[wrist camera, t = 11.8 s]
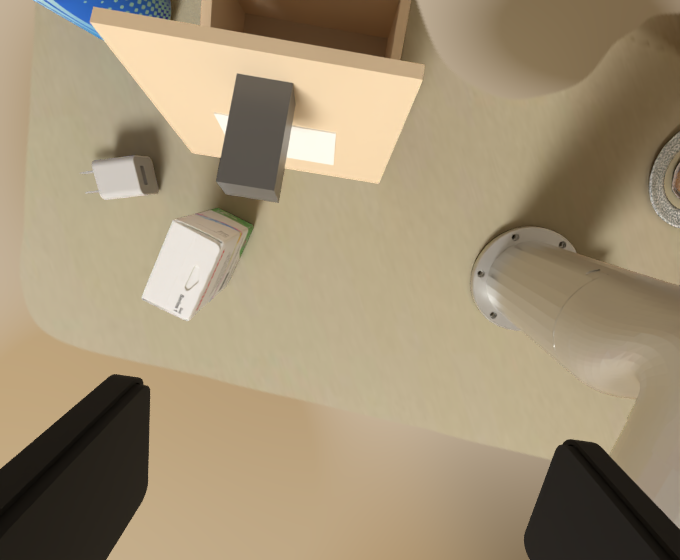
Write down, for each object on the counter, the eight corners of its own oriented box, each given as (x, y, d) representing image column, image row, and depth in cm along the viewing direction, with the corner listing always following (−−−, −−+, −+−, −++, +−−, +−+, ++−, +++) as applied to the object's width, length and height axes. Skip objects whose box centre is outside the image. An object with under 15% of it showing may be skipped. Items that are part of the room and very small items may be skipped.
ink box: (216, 205, 43) (170, 215, 31) (255, 225, 43) (225, 242, 32) (189, 269, 45) (137, 300, 33) (227, 287, 45) (188, 324, 34)
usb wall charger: (160, 193, 43) (141, 194, 39) (101, 200, 43) (77, 203, 39) (151, 156, 41) (131, 154, 38) (91, 164, 42) (65, 163, 38)
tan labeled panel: (424, 64, 18) (406, 198, 17) (380, 174, 32) (369, 251, 31) (93, 6, 18) (60, 142, 17) (194, 144, 32) (178, 221, 31)
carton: (396, 33, 38) (413, -15, 28) (371, 174, 42) (380, 173, 32) (239, 6, 38) (204, -54, 28) (229, 151, 41) (194, 143, 32)
